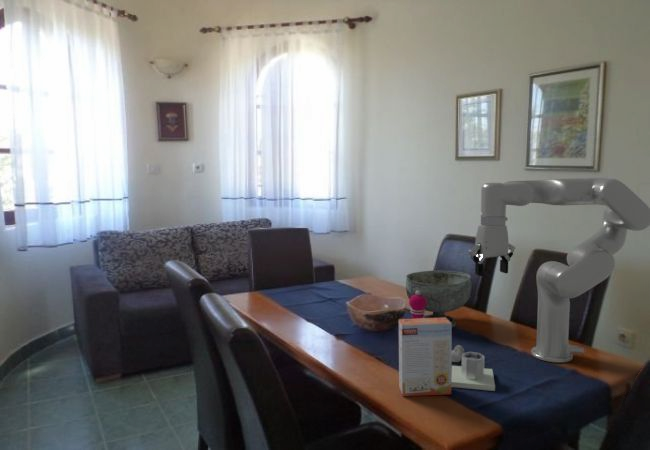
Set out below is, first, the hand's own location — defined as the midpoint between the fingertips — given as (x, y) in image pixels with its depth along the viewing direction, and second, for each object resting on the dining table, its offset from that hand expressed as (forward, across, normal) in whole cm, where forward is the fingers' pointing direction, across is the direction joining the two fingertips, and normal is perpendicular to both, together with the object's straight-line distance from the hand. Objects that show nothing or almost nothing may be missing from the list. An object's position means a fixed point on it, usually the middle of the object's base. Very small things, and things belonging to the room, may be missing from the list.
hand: (491, 273), depth 163 cm
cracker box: (+28, +33, +13) cm, 45 cm away
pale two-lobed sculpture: (+29, +11, -3) cm, 31 cm away
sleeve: (+27, +16, +12) cm, 33 cm away
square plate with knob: (+28, +16, +12) cm, 35 cm away
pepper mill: (+28, +16, -19) cm, 38 cm away
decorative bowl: (+28, -4, -36) cm, 46 cm away
